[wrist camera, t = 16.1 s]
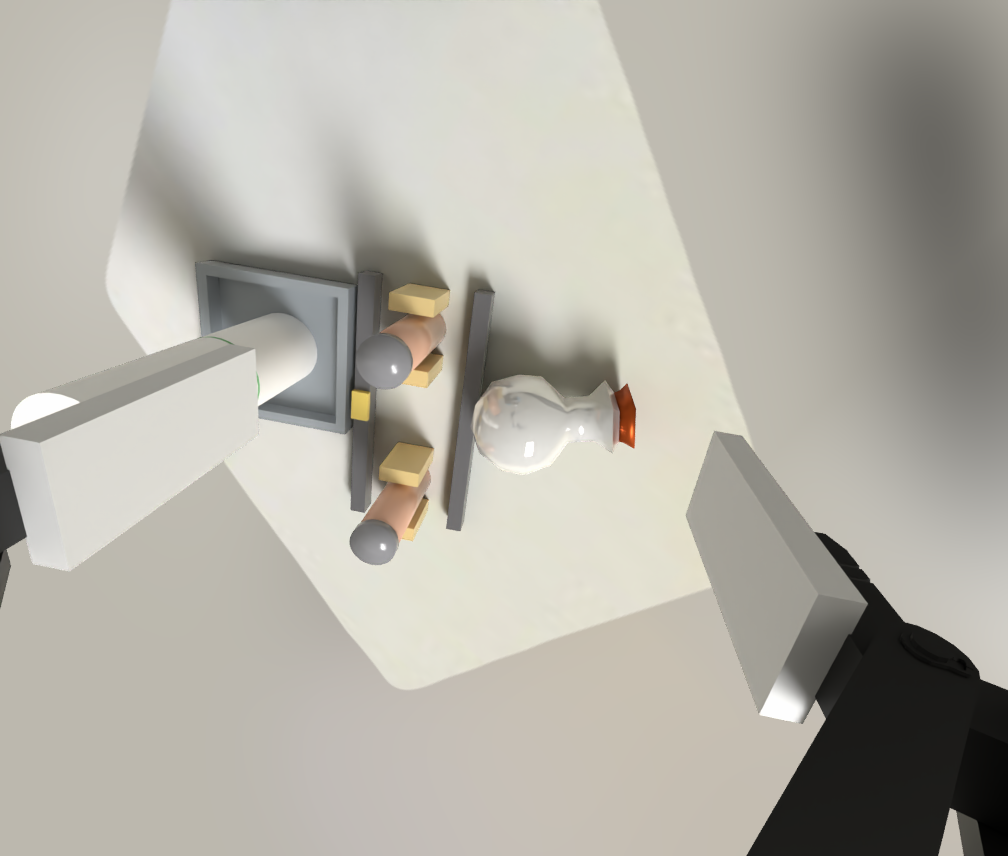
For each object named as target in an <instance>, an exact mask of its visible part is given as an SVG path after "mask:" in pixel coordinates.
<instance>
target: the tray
mask: <svg viewBox="0 0 1008 856" xmlns="http://www.w3.org/2000/svg"><path fill="white" fill-rule="evenodd" d="M195 267H196V278H197V289H198V301H199V312H200V324H201V335H202V337H203V336H206V335H209V334H212V333H215V332H218V331H221V330H223V329H226V328H229V327H232V326H235V325H238V324H241V323H244V322H247V321H250V320H253V319H256V318H259V317H262V316H265V315H268V314H271V313H284V314H288V315H291V316H293V317H295V318H296V319H298V320H299V321H301V322H302V323H303V324H304V325H305V326H306V327H307V328H308V329H309V331H310V332H311V334H312V335H313V338H314V340H315V343H316V347H317V360H316V364H315V366H314V368H313V370H312V371H311V373H309V374H308V375H307V376H306V377H304V378H303V379H301V380H300V381H298V382H296V383H295V384H293V385H292V386H290V387H288V388H287V389H285V390H284V391H282V392H280V393H279V394H277V395H276V396H274V397H272V398H271V399H269V400H268V401H266V402H264V403H263V404H261V405H260V406H258V417H259V418H260V419H265V420H271V421H276V422H281V423H287V424H292V425H297V426H303V427H308V428H314V429H319V430H324V431H330V432H335V433H340V434H346V433H347V432H348V431H349V430H350V429H351V428H352V427H353V422H354V419H352V418H351V401H352V390H354V389H355V361H356V331H357V300H358V285H354V284H348V283H343V282H337V281H331V280H325V279H319V278H313V277H307V276H302V275H296V274H290V273H284V272H278V271H272V270H266V269H261V268H255V267H249V266H243V265H237V264H231V263H225V262H220V261H214V260H210V261H202V262H195Z"/></svg>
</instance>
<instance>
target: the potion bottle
mask: <svg viewBox="0 0 1008 856" xmlns="http://www.w3.org/2000/svg"><path fill="white" fill-rule="evenodd" d="M635 418H636V408H635V405H634V402H633V399H632V396H631V393H630V390H629V387H628V384H626V385H625V386H624V387H623V388H622V389H621V390H620V391H617V392H615V393H614V392H613V390H612V389H611V388H610V386H609V385H608V383H607V382H606V381H604V382H603V383H602V384H601V385H599V386H598V387H597V388H596V389H595V390H594V391H593V392H592V393H591V394H590V395H589V396H576V397H563V396H562V395H561V394H560V393H559V392H558V391H557V390H556V389H555V388H554V387H553V386H552V385H551V384H550V383H548V382H547V381H546V380H545V379H544V378H543V377H542V376H530V375H515V376H512V377H508V378H504V379H500V380H497V381H493V382H491V384H490V385H489V387H488V388H487V389H486V391H485V392H484V394H483V395H482V397H481V398H480V399H479V401H478V402H477V404H476V405H475V409H474V413H473V417H472V422H471V426H470V428H471V431H472V433H473V436H474V439H475V442H476V445H477V447H478V450H479V453H480V454H481V455H482V456H483V457H485V458H486V459H487V460H488V461H490V462H491V463H492V464H493V465H495V466H496V467H497V468H498V469H500V470H501V471H505V472H510V473H516V474H521V475H526V474H529V473H532V472H535V471H538V470H541V469H544V468H546V467H549V466H551V465H552V464H553V462H554V461H555V460H556V458H557V457H558V455H559V454H560V453H561V451H562V450H563V449H564V447H565V446H566V444H567V443H570V442H587V441H594V442H595V443H597V444H599V445H600V446H602V447H603V448H605V449H606V450H608V451H610V452H611V453H613V451H614V450H615V448H616V446H617V444H618V442H623V443H625V444H626V445H628V446H630V447H632V448H634V446H635Z"/></svg>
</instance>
